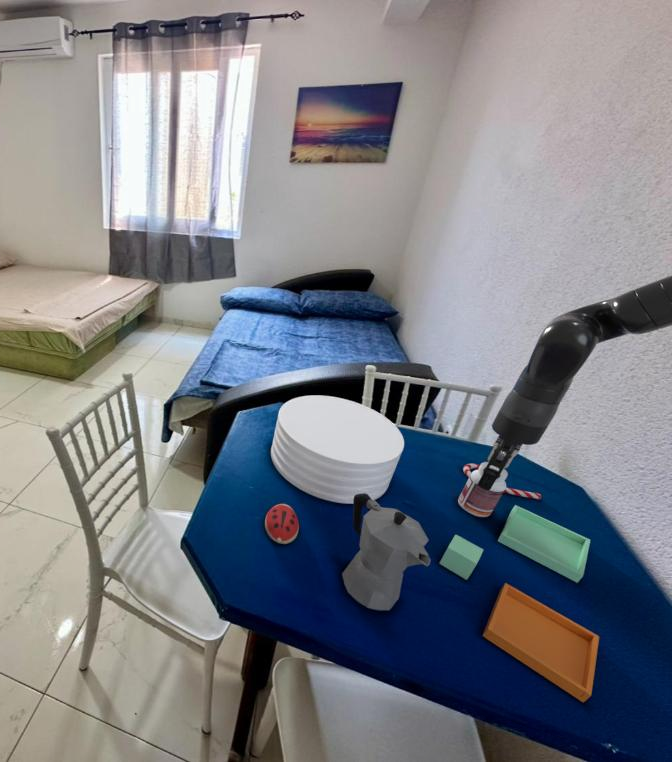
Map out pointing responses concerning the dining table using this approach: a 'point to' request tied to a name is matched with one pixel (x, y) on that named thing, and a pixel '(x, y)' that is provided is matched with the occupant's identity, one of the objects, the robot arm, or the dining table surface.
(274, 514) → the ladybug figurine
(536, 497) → the candy cane
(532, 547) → the mint tray
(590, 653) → the amber tray
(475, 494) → the pill bottle
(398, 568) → the coffeepot
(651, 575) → the dining table surface
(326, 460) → the plate stack
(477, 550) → the mint block
